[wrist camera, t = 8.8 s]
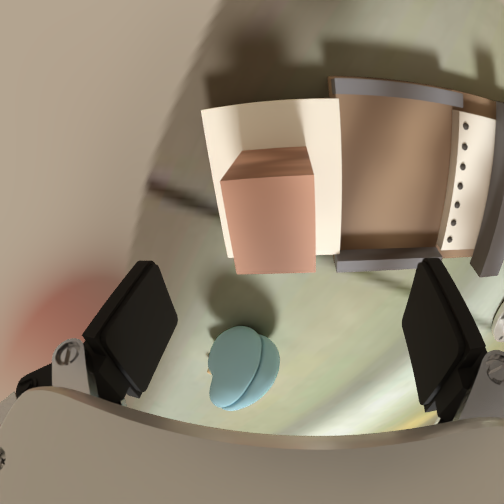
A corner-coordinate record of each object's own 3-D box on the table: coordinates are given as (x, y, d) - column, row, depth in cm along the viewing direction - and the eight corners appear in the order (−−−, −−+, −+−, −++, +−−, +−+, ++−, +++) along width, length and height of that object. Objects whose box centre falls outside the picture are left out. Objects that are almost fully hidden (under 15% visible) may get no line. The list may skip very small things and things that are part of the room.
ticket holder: (516, 109, 12) (548, 121, 8) (494, 246, 20) (515, 273, 16) (327, 77, 15) (338, 73, 12) (332, 252, 23) (338, 287, 19)
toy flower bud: (168, 405, 27) (218, 382, 20) (190, 345, 34) (240, 302, 27) (221, 427, 29) (287, 410, 22) (236, 369, 36) (295, 334, 29)
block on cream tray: (336, 98, 15) (364, 104, 9) (337, 246, 21) (352, 312, 15) (205, 109, 16) (160, 123, 10) (230, 250, 22) (208, 314, 16)
